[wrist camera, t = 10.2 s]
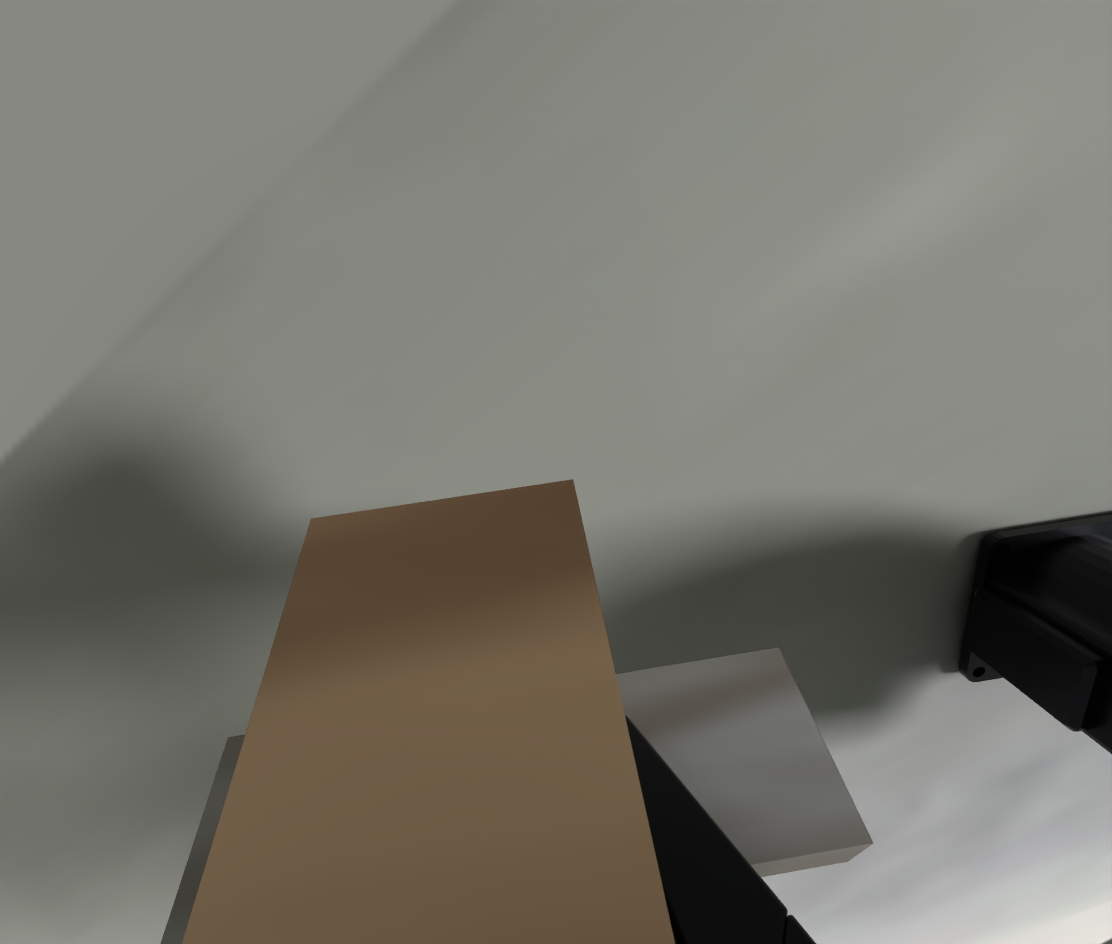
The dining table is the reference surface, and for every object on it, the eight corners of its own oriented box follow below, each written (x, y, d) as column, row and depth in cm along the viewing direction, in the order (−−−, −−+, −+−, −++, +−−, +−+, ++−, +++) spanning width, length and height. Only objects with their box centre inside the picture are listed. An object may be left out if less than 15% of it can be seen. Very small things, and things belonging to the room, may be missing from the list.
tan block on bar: (-6, 566, 6) (-509, 1162, 3) (866, 435, 6) (1244, 842, 3) (260, 761, 10) (173, 1079, 7) (765, 677, 10) (885, 947, 7)
